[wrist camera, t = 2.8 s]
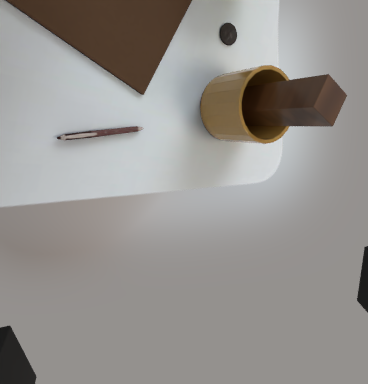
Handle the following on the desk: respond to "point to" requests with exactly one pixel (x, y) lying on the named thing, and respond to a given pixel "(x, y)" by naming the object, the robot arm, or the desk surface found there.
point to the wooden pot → (238, 106)
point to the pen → (99, 133)
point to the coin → (228, 33)
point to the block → (293, 102)
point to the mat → (113, 31)
